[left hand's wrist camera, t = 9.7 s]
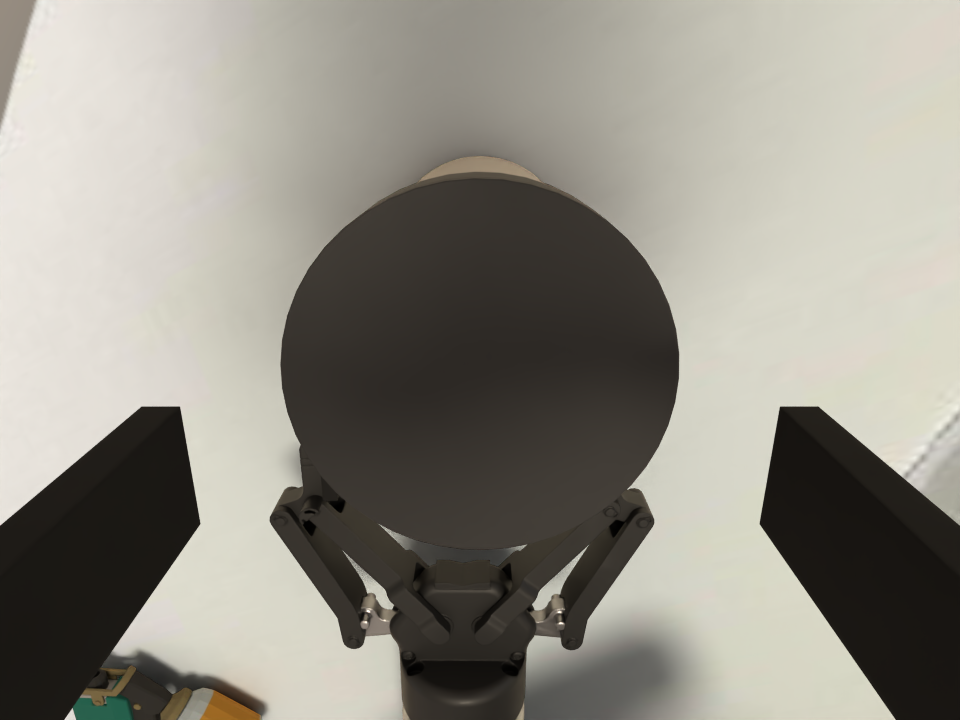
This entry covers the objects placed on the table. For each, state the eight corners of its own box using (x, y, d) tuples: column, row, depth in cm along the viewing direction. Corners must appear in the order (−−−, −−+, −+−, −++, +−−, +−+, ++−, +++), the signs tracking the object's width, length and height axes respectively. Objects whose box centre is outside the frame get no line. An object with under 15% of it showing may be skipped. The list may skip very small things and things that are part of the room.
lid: (471, 83, 17) (470, 78, 15) (731, 348, 19) (762, 376, 17) (230, 361, 20) (200, 391, 17) (486, 563, 22) (486, 610, 20)
